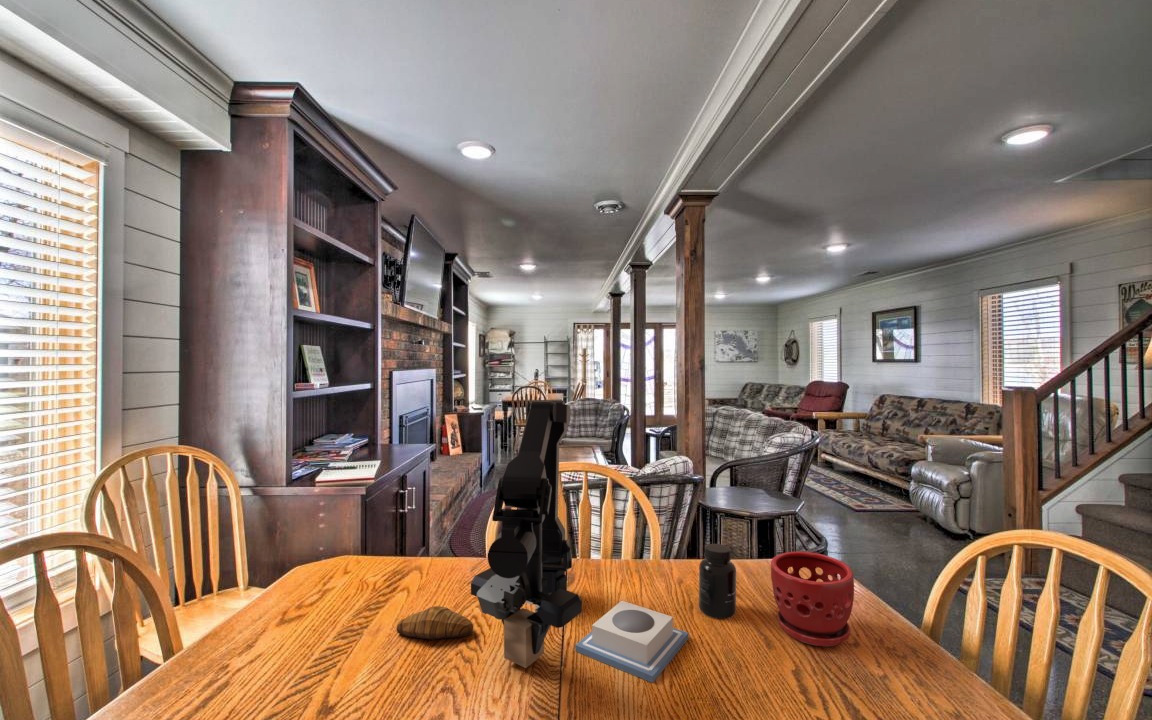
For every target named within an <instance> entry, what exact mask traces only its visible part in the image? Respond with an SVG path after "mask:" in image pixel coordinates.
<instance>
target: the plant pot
mask: <svg viewBox="0 0 1152 720" xmlns="http://www.w3.org/2000/svg"><path fill="white" fill-rule="evenodd" d="M789 568H792V572H790V573H789ZM803 568H805V569H807V570H809V571H810V576H809V577H807V578H803V577H802V576H801V575H800V571H801V569H803ZM817 568H818V569H821V570H822V573H821V574H819V573H818V572H817V570H816V569H817ZM838 575H839V577H840V579H839V577H838ZM829 576H830V577H831V579H830V578H829ZM770 578H771V585H772V590H773V591H772V592H773V593H772V594H773V597H774V601H775V604H776V606H777V609H778V611H777V614H776V619H777V622H778V624H779V626H780V627H781V629H782V630H783V631H784V632H786V633H787V634H788V635H789V636H790V637H792V638H794V640H797V641H799V642H802V643H804V644H808V645H812V646H816V647H828V648H829V647H830V648H831V647H834V646H837V645H841V644H843V643H844V642H845V641H847V639H849V638H850V634H851V627H850V625H849V623H848V621H849V619H850V617H851V614H852V610H853V606H854V599H855V598H854V597H855V580H854V579H855V578H854V572H853V570H852V569H851V568H850V566H849V565H847V564H846V563H845V562H843V561H841V560H839V559H837V558H834V557H832V556H829V555H827V554H826V555H825V554H821V553H817V552H809V551H788V552H782V553H780V554H777V555H775V556H774V557H772V559H771V560H770ZM818 580H822V581H818Z"/></svg>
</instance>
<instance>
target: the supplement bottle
mask: <svg viewBox="0 0 1152 720" xmlns="http://www.w3.org/2000/svg"><path fill="white" fill-rule="evenodd" d="M703 557H704V558H703V559H702V560H701V561H700V563H699V567H698V570H699V571H698V573H699V575H698V608H699V610H700V611H701V612H702V613H703V614H704V615H705V616H707V617H710V618H714V619H719V620H720V619H721V620H725V619H730V618H732V617H733V616H734V615H735V614H736V612H737V568H736V565H735V564H734V563H733V562H732V561H731V560H732V549H731V548H730V547H729V546H727V545H725V544H722V543H721V544H719V543H710V544H706V545H705V546H704V554H703Z"/></svg>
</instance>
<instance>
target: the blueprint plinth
mask: <svg viewBox="0 0 1152 720" xmlns="http://www.w3.org/2000/svg"><path fill="white" fill-rule="evenodd" d="M689 635H690V634H689V632H687V631H684V630H682V629H678V628H676V627H674V616H671V615H668V614H664V613H662V612H659V611H655V610H652V609H649V608H646V607H644V606H640V605H637V604H634V603H630V602H627V601H625V600H621V601H619V602H618V603H617V604H616V605H615V606H613V607H612V608H611V609H609V611H608V612H606V613H604V615H603V616H601V617H600V618H599V619H597V620H596V621H595V622H594V623H593V624H592V625H591V631H590V632H588V634H586V635H585V636H584V637H582V639H581V640H579V642H577V643H576V644H575V645H574V649H575V652H577V653H579V654H581V655H583V656H587V657H589V658H591V659H594V660H595V661H598V662H601V663H603V664H605V665H608V666H611V667H612V668H615V669H618V670H620V671H623V672H625V673H628V674H630V675H632V676H634V675H635V677H637V678H639V677H640V678H639V679H642V680H644V681H647V682H650V683H652V684H653V683H654V682H655V681H656V680H657V679H658V677H659V676H660V675H661V674H662V672H663V671H664V670H665V668H667V666H668V665H669V664H670V662H671V661H673V659H674V658H675V656H676V655H677V654H678V652H679V651H680V650H681V649H682V647H683V646H684V645H685V643H686V642H687V641H688V640H689Z"/></svg>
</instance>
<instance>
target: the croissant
mask: <svg viewBox="0 0 1152 720" xmlns="http://www.w3.org/2000/svg"><path fill="white" fill-rule="evenodd" d="M473 631H474V624H473V622H472V621H471V620H470V619H469V618H467V616H464V615H462V614H460V613H458V612H456V611H452V610H451V609H450V608H449V607H446V606H442V605H441V606H440V605H436V606H435V605H434V606H430V607H428V608H426V609H425V610H422V611H418V612H415V613H412V614H410V615H408V616H406V617H404V618H403V619H401V620H399V621H398V622H397V624H396V633H398V634H399V635H402V636H406V637H409V638H417V639H423V640H430V641H432V640H441V639H442V640H443V639H454V638H461V637H465V636H469V635H471V634H472V633H473Z"/></svg>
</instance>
